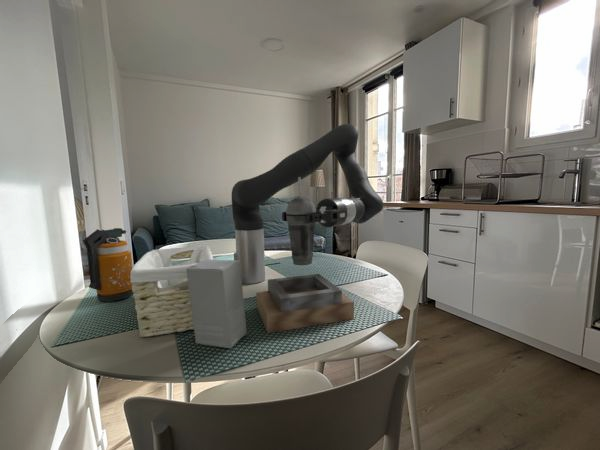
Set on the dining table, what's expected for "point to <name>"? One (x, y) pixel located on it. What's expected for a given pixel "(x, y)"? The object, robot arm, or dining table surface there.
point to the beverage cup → (301, 228)
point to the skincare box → (217, 302)
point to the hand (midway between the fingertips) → (295, 217)
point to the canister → (109, 264)
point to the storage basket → (165, 290)
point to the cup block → (302, 303)
